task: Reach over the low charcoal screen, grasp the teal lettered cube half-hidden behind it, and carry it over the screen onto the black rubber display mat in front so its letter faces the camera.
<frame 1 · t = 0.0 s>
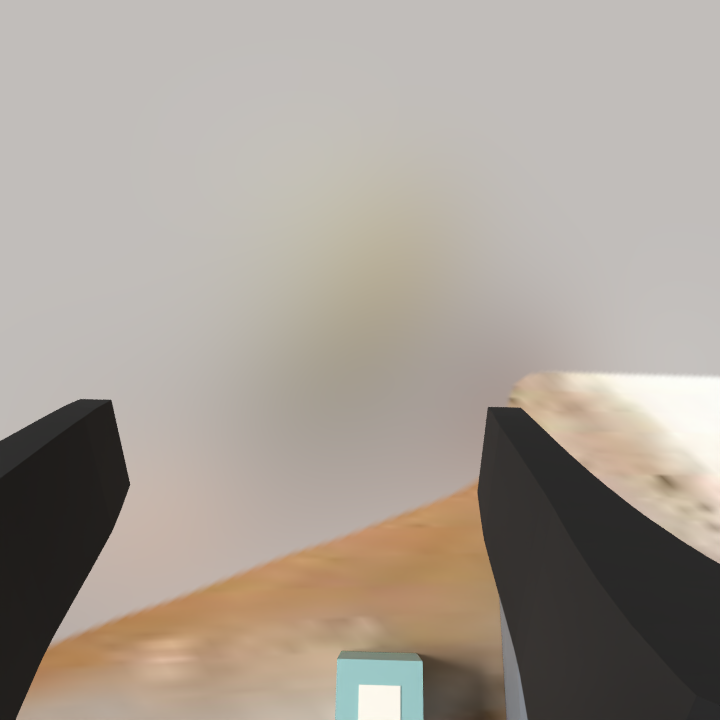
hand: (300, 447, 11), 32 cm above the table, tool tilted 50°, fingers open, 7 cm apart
letter cube: (378, 694, 38), on the table
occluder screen: (517, 699, 38), on the table
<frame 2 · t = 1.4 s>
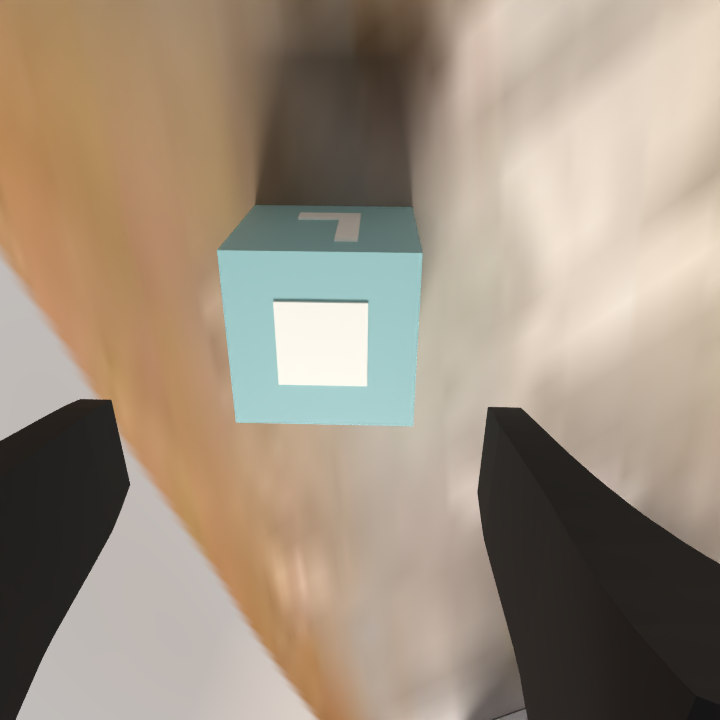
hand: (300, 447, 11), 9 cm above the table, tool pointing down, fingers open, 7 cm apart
letter cube: (334, 279, 20), on the table
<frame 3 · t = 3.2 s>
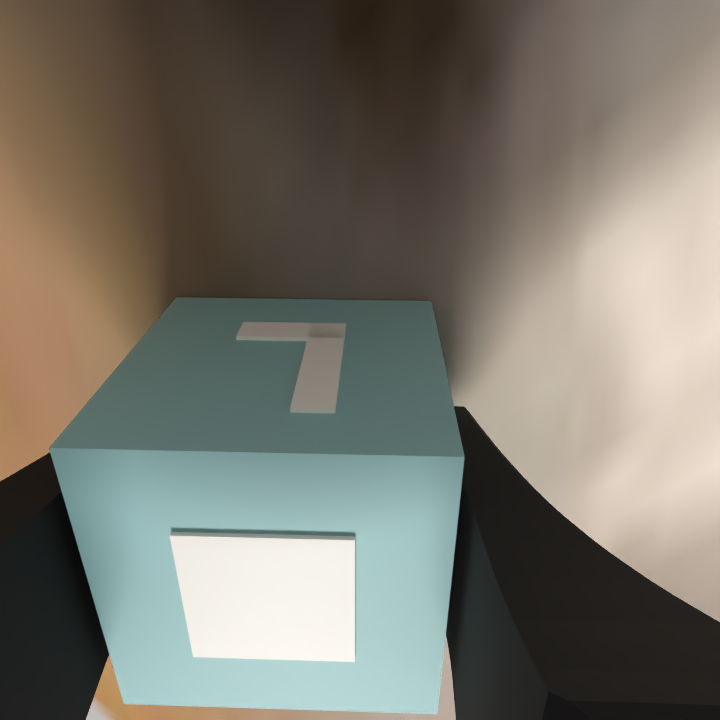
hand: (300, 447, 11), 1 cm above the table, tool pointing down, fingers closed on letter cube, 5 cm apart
letter cube: (308, 407, 13), on the table, touching gripper
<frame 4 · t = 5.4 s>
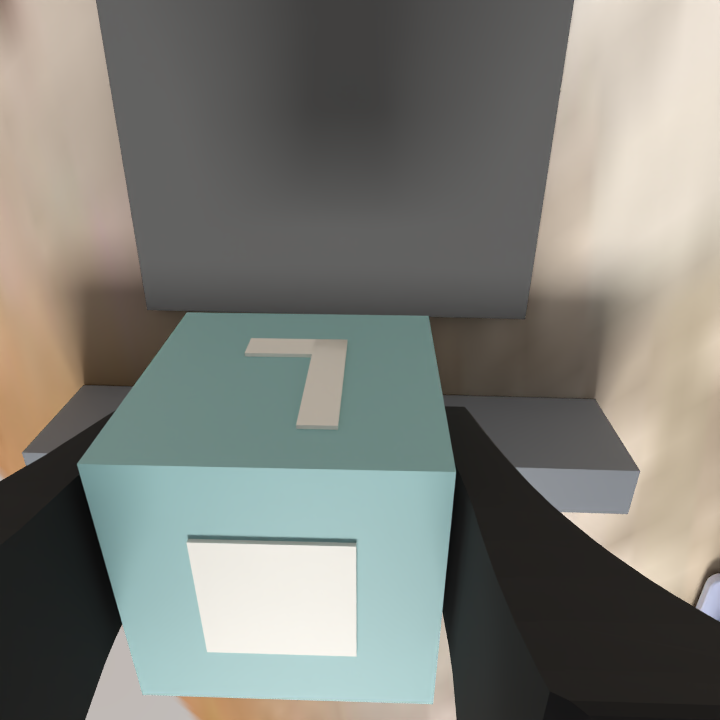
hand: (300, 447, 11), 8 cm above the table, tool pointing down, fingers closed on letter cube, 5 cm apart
letter cube: (311, 415, 13), point 7 cm above the table, touching gripper
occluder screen: (336, 411, 21), on the table
display mat: (335, 163, 17), on the table
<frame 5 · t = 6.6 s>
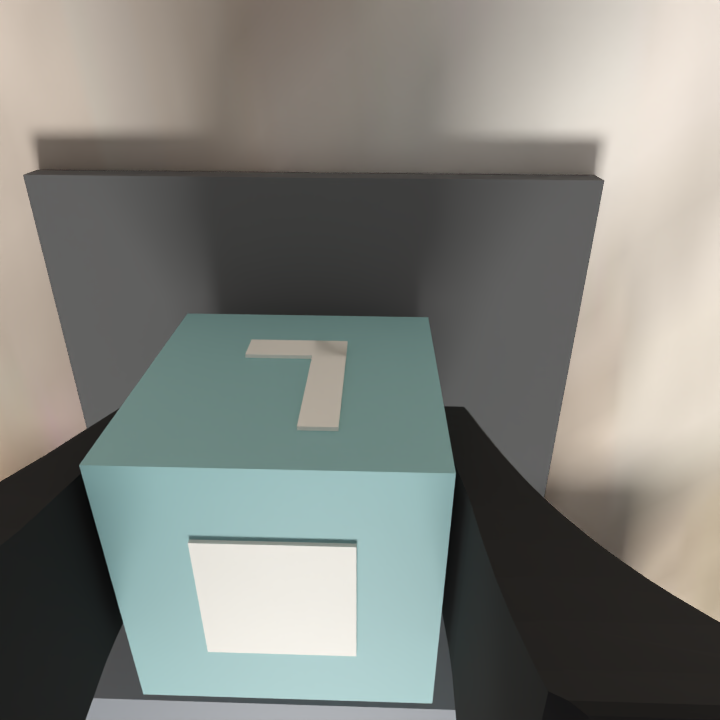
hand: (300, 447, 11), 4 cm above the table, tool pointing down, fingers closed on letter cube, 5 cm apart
letter cube: (311, 416, 13), point 2 cm above the table, touching gripper
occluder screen: (326, 597, 19), on the table
display mat: (318, 358, 15), on the table
when the fingers open (3 cm above the table, at t = 7.6 s): letter cube stays where it is, resting on display mat.
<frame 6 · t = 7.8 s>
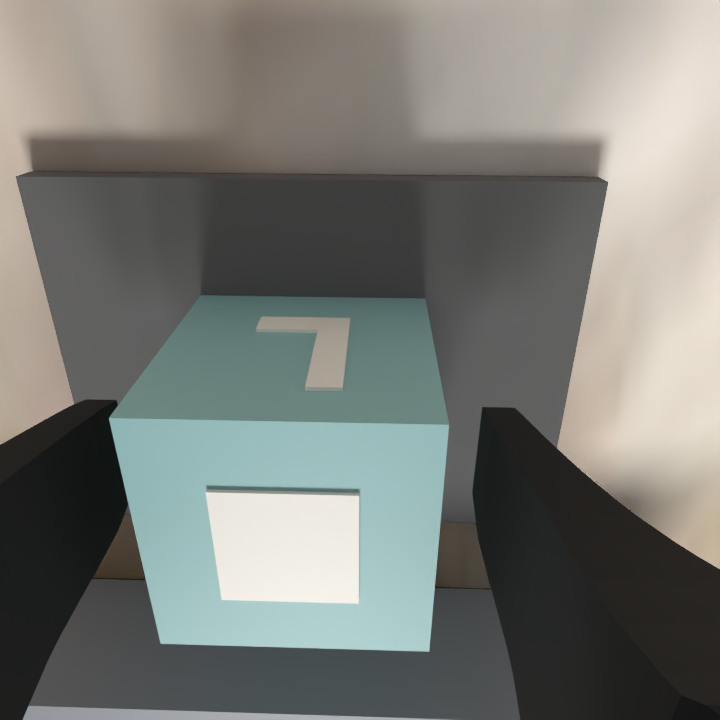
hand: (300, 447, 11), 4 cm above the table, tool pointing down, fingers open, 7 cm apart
letter cube: (315, 393, 14), point 1 cm above the table, touching display mat
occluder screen: (325, 603, 18), on the table
display mat: (317, 362, 14), on the table
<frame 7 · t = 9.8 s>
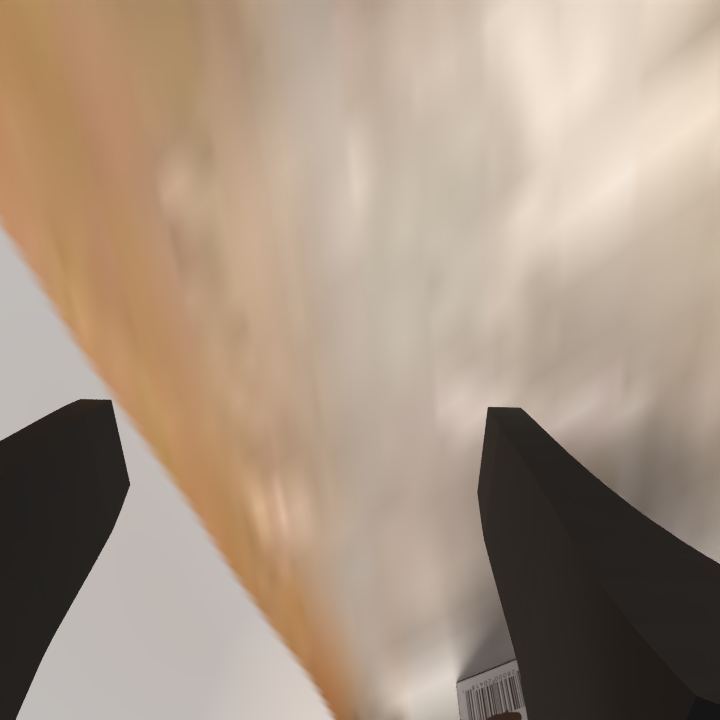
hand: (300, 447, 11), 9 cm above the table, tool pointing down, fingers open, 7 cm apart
coffee box: (546, 704, 30), on the table
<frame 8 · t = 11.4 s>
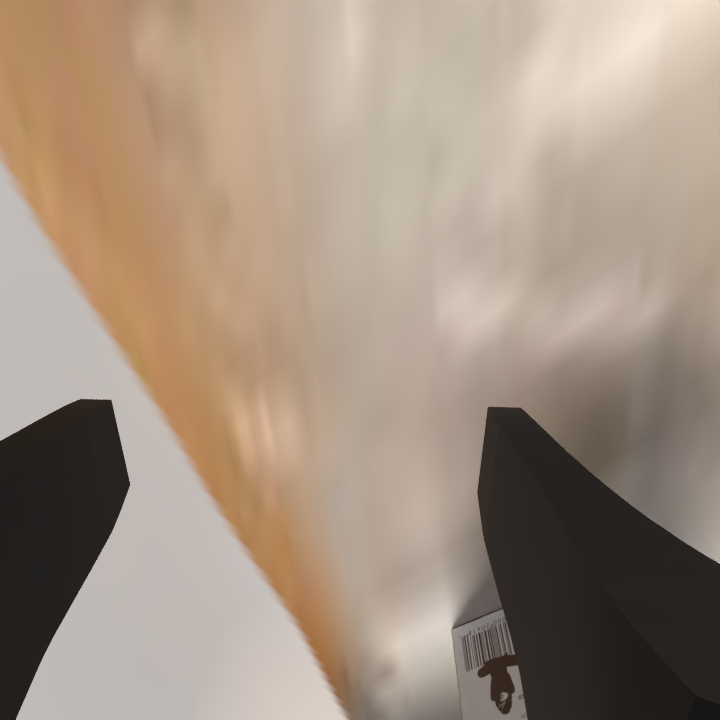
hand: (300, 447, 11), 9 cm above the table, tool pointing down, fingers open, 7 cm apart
coffee box: (547, 655, 28), on the table
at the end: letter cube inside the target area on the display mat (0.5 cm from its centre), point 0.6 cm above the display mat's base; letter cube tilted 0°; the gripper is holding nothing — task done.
